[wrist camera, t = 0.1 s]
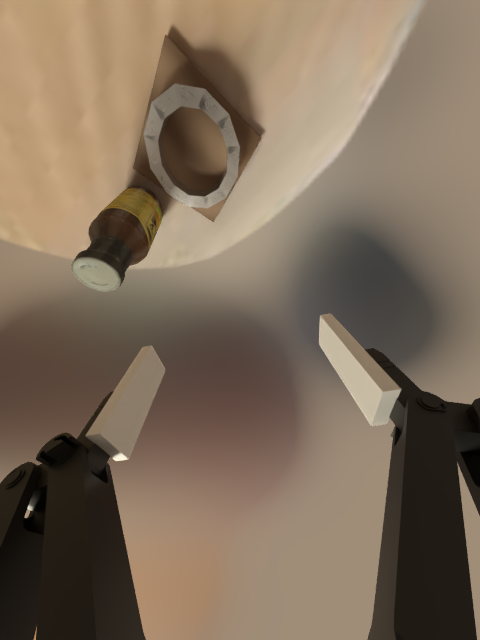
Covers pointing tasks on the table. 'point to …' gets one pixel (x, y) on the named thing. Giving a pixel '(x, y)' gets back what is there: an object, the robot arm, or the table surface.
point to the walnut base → (193, 132)
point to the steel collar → (153, 136)
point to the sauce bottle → (119, 239)
